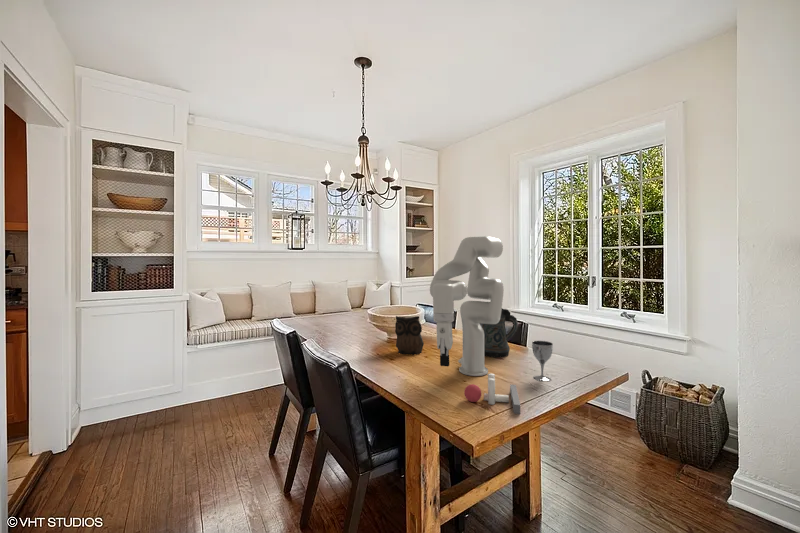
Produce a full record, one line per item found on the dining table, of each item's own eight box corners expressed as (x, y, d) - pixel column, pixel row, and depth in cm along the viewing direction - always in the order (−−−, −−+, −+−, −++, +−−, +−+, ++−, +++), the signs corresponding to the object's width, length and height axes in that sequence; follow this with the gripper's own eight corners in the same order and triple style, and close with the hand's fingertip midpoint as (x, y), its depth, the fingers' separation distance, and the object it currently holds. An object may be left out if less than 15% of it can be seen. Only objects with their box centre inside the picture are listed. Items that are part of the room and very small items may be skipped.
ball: (485, 401, 125) (470, 405, 127) (482, 384, 128) (467, 388, 131) (478, 398, 120) (463, 402, 123) (475, 380, 124) (460, 384, 126)
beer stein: (473, 349, 193) (473, 304, 192) (508, 348, 194) (508, 303, 193) (482, 358, 176) (482, 308, 175) (520, 357, 178) (520, 307, 177)
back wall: (520, 414, 115) (520, 405, 115) (513, 413, 116) (513, 404, 116) (515, 392, 133) (515, 384, 133) (510, 392, 133) (510, 384, 133)
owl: (424, 353, 185) (424, 316, 185) (403, 357, 179) (403, 318, 179) (412, 348, 196) (412, 312, 196) (392, 351, 191) (392, 314, 190)
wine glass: (540, 382, 142) (540, 346, 142) (528, 376, 150) (528, 341, 150) (556, 380, 145) (557, 344, 144) (544, 374, 152) (544, 340, 152)
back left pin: (486, 397, 129) (486, 374, 129) (491, 395, 130) (491, 373, 130) (491, 399, 127) (491, 376, 127) (496, 397, 128) (496, 374, 128)
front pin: (483, 392, 127) (508, 394, 124) (484, 394, 128) (508, 396, 126) (483, 398, 125) (508, 401, 123) (484, 401, 127) (508, 403, 125)
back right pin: (486, 402, 124) (486, 379, 124) (491, 401, 125) (491, 377, 125) (491, 405, 122) (491, 381, 122) (496, 403, 123) (496, 379, 123)
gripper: (452, 321, 121) (453, 373, 122) (455, 312, 136) (456, 359, 137) (430, 321, 123) (431, 372, 124) (436, 312, 137) (437, 358, 139)
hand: (444, 365), depth 131 cm, fingers closed
